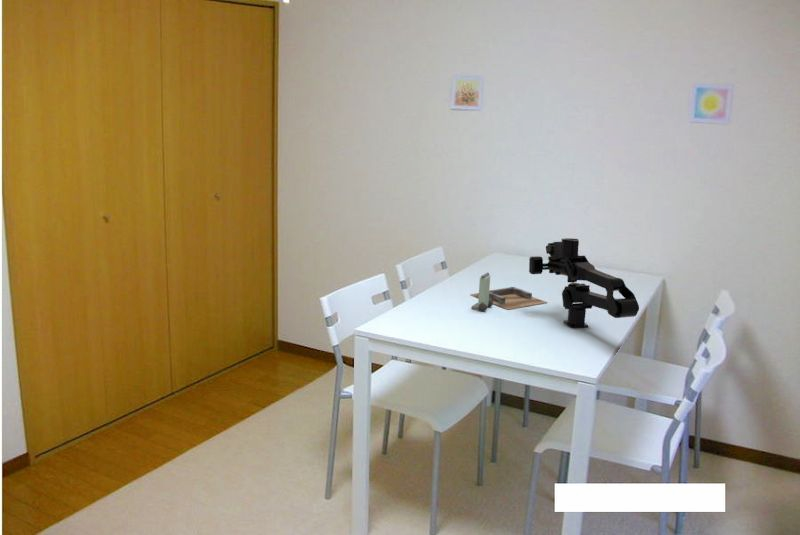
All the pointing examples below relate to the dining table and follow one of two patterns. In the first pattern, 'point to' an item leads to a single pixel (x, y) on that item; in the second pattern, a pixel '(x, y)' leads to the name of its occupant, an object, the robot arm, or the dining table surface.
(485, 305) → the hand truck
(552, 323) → the dining table surface
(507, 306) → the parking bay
